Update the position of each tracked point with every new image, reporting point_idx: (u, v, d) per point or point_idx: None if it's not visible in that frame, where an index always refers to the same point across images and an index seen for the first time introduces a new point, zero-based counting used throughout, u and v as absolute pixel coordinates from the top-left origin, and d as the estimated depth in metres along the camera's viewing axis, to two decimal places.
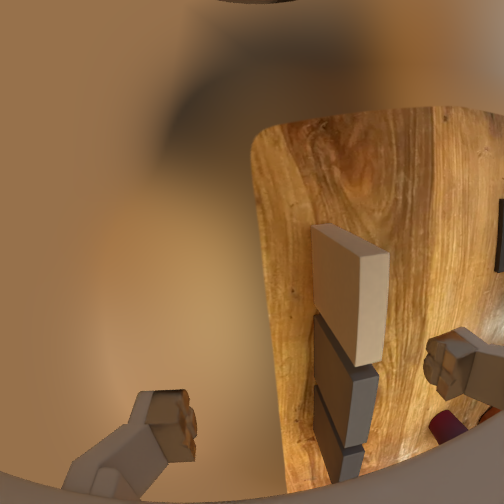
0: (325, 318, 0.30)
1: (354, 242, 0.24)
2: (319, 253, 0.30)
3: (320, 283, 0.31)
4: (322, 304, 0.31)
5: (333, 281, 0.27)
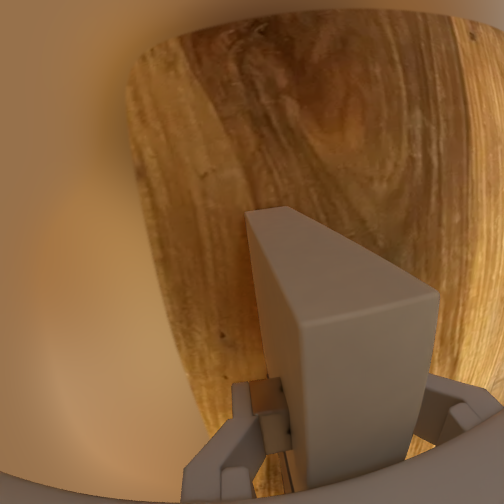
0: None
1: (311, 246, 0.08)
2: (254, 269, 0.14)
3: (262, 329, 0.15)
4: (269, 369, 0.15)
5: (270, 343, 0.11)
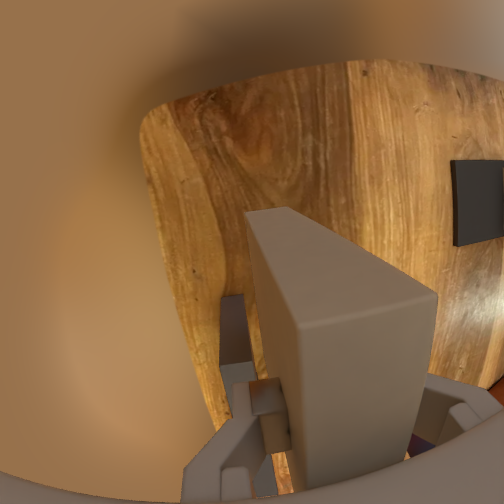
0: None
1: (310, 247, 0.08)
2: (254, 269, 0.14)
3: (262, 330, 0.15)
4: (268, 370, 0.15)
5: (269, 343, 0.11)
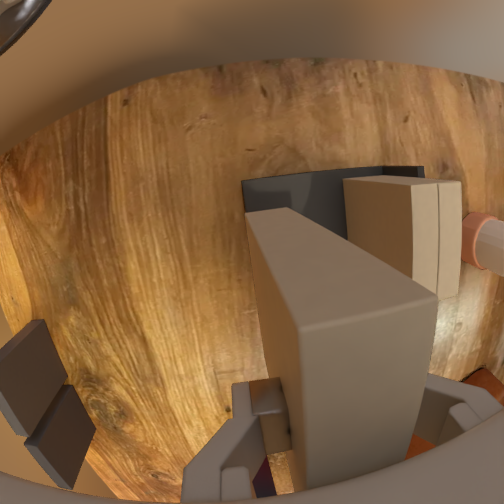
0: None
1: (311, 249, 0.08)
2: (254, 270, 0.14)
3: None
4: (269, 370, 0.15)
5: (270, 344, 0.11)
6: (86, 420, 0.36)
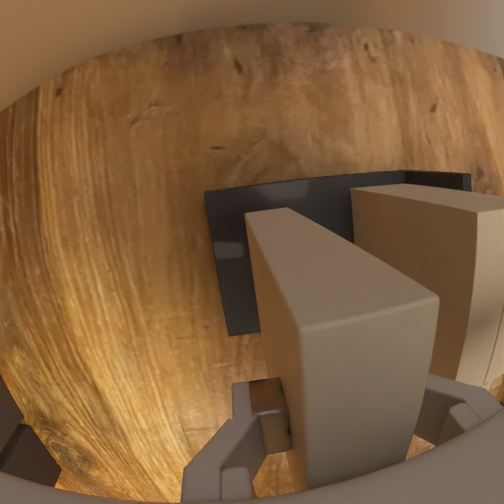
0: None
1: (311, 249, 0.08)
2: (255, 270, 0.14)
3: (263, 331, 0.15)
4: (269, 371, 0.15)
5: (270, 345, 0.11)
6: (49, 462, 0.27)
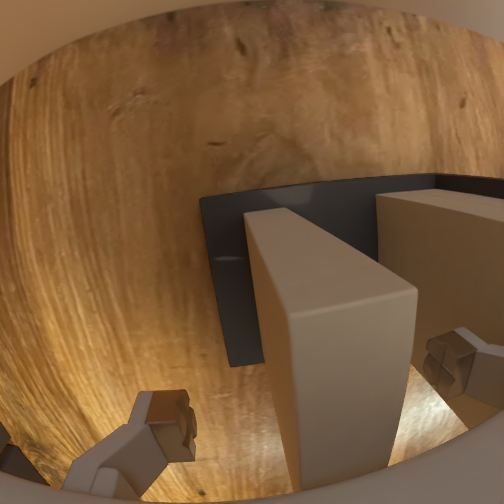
0: None
1: (304, 246, 0.09)
2: (253, 268, 0.15)
3: (261, 326, 0.16)
4: (267, 365, 0.16)
5: (267, 338, 0.11)
6: (39, 483, 0.23)
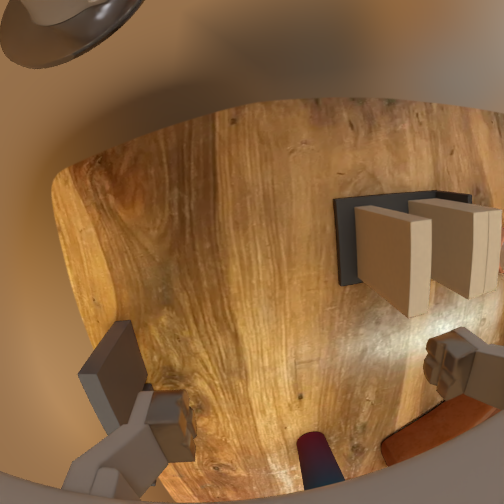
0: (372, 286, 0.34)
1: (400, 214, 0.27)
2: (365, 229, 0.34)
3: (366, 256, 0.35)
4: (368, 274, 0.34)
5: (381, 250, 0.30)
6: None
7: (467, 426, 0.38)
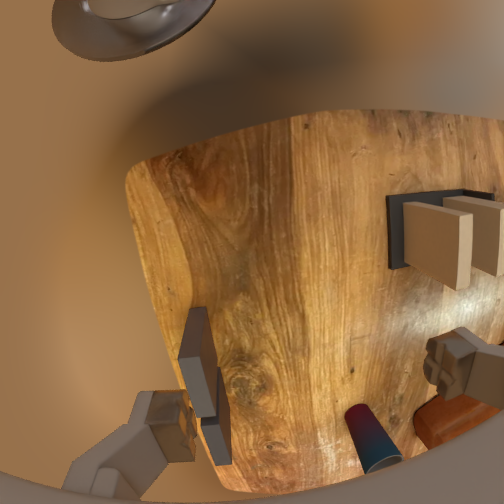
0: (420, 268, 0.39)
1: (446, 210, 0.32)
2: (414, 221, 0.39)
3: (414, 243, 0.39)
4: (416, 258, 0.39)
5: (431, 238, 0.35)
6: (226, 399, 0.46)
7: None
